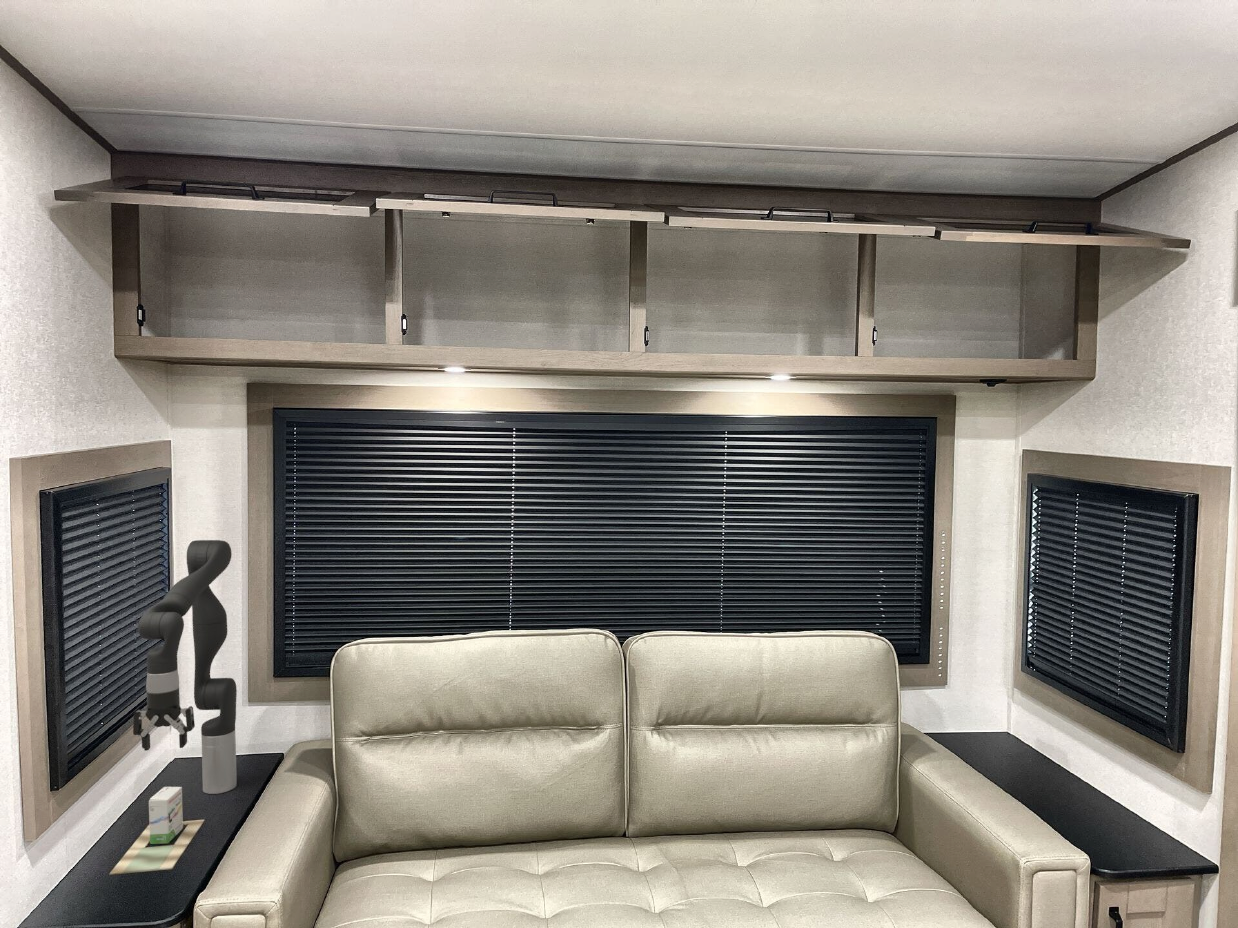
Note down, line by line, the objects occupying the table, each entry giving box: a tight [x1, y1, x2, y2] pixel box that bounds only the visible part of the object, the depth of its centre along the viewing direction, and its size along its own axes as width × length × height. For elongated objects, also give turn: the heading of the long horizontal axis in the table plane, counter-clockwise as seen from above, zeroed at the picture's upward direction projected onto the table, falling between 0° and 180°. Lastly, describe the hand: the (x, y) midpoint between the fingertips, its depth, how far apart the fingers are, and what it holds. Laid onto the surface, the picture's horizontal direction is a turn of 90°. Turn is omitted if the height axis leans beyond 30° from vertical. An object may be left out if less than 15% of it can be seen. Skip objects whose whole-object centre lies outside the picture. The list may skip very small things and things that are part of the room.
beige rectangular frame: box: [109, 819, 205, 875], centre depth 216 cm, size 26×14×1 cm, turn 10°
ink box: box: [148, 786, 184, 845], centre depth 221 cm, size 8×5×12 cm, turn 3°
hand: (164, 748), depth 221 cm, fingers open, 8 cm apart
